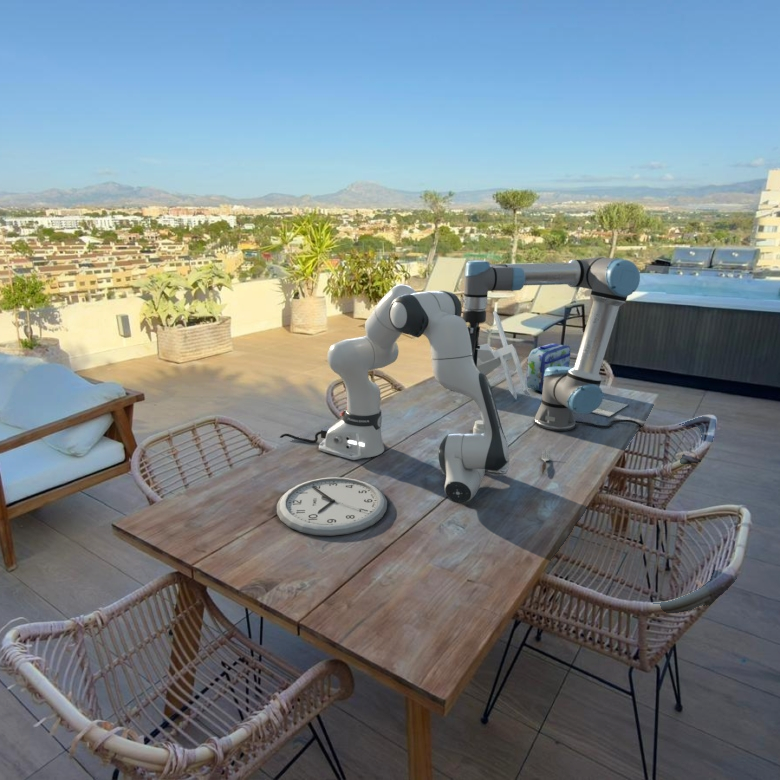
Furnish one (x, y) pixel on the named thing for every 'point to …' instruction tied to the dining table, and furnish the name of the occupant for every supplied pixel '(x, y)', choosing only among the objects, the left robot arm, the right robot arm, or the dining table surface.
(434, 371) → the left robot arm
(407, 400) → the dining table surface
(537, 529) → the dining table surface
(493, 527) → the dining table surface
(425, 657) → the dining table surface
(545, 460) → the fork
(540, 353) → the lunch box
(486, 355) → the white plastic object
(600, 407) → the invitation card
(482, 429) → the white cylinder
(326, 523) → the wall clock
